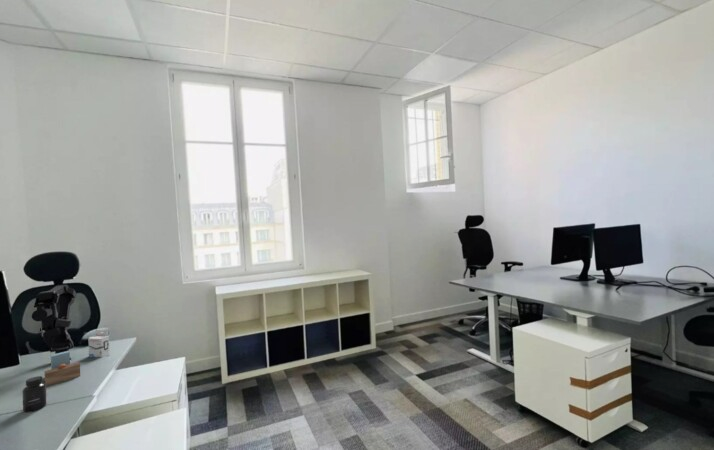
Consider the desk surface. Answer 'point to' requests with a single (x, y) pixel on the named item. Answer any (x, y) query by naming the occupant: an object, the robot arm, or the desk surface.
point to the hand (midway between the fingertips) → (50, 346)
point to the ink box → (99, 344)
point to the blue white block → (60, 359)
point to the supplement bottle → (34, 394)
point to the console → (61, 373)
